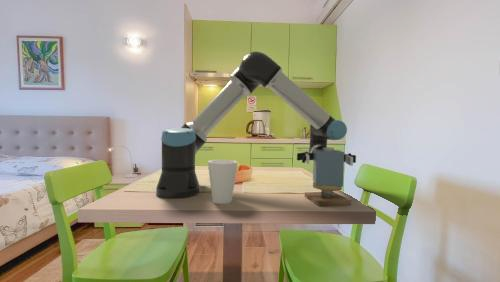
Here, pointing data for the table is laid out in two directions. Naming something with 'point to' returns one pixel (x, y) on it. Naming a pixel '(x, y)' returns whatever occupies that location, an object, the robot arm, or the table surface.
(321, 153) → the sleeve
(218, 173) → the foam cup
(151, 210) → the table surface
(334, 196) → the post stand
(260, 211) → the table surface
